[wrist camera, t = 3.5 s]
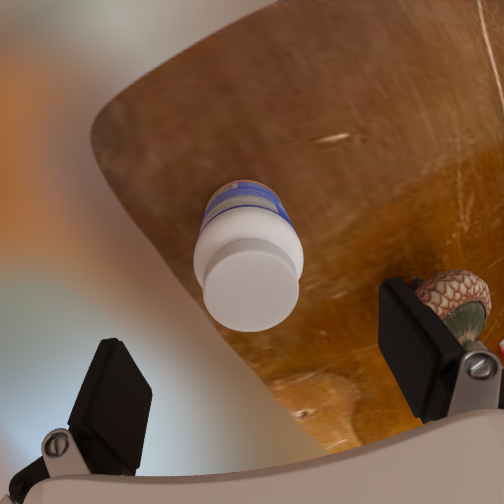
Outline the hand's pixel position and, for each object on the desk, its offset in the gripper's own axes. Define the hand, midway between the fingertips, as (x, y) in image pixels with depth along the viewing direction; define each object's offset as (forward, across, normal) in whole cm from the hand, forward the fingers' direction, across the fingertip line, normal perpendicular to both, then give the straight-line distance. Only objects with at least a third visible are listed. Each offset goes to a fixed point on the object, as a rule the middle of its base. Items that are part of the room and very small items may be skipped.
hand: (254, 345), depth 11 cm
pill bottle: (+12, 0, 0) cm, 13 cm away
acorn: (+13, -13, +9) cm, 20 cm away
